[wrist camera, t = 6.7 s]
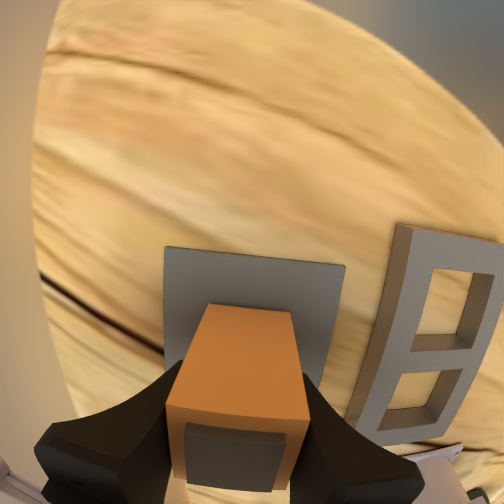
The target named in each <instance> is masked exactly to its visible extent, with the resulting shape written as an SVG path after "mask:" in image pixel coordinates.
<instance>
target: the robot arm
mask: <svg viewBox="0 0 504 504" xmlns="http://www.w3.org/2000/svg"><path fill="white" fill-rule="evenodd" d="M183 361H184V360H179V361H177V362H176V363H175V364H174V365H173V366H172V367H171V368H170V369H169V370H168V371H166V372H165V373H164V374H163V375H162V376H161V377H159V378H158V379H157V380H156V381H154V382H153V383H152V384H151V385H149V386H148V387H147V388H145V389H144V390H142V391H141V392H139V393H138V394H136V395H135V396H133V397H132V398H130V399H128V400H127V401H125V402H123V403H121V404H119V405H117V406H114V407H112V408H110V409H107V410H105V411H102V412H100V413H97V414H94V415H91V416H87V417H83V418H80V419H75V420H70V421H64V422H58V423H52V425H51V426H50V427H49V428H48V429H47V430H46V432H45V433H44V434H43V436H42V437H41V438H40V440H39V441H38V442H37V444H36V445H35V447H34V453H35V456H36V458H37V460H38V462H39V463H40V465H41V467H42V468H43V470H44V472H45V473H46V475H47V476H48V478H49V480H48V481H47V483H46V485H45V486H44V488H43V489H42V488H40V487H39V486H37V485H35V484H33V483H32V482H30V481H28V480H26V479H25V478H23V477H21V476H20V475H18V474H16V473H15V472H13V471H12V470H10V467H9V466H8V464H7V463H6V461H5V460H4V459H3V458H2V457H1V456H0V504H164V500H165V495H166V491H167V486H168V481H169V477H170V473H171V469H172V461H171V454H170V445H169V436H168V426H167V416H166V401H167V399H168V397H169V394H170V392H171V389H172V387H173V385H174V382H175V380H176V378H177V375H178V373H179V371H180V368H181V366H182V364H183ZM302 376H303V382H304V387H305V393H306V398H307V404H308V409H309V415H310V422H309V426H308V429H307V432H306V435H305V438H304V441H303V444H302V446H301V449H300V452H299V455H298V458H297V461H296V463H295V466H294V469H293V471H292V474H291V477H290V504H487V503H486V501H485V499H484V498H483V496H480V497H478V498H476V499H473V500H471V501H470V499H469V497H468V495H467V493H466V492H465V490H464V488H463V486H462V484H461V482H460V480H459V478H458V476H457V475H456V473H455V471H454V469H453V467H452V465H451V464H452V463H453V461H454V460H455V459H456V457H457V456H458V455H459V453H460V452H461V450H462V449H463V447H464V446H463V444H458V445H454V446H450V447H446V448H442V449H438V450H434V451H429V452H425V453H420V454H415V455H409V456H404V457H401V456H398V455H396V454H394V453H392V452H390V451H388V450H386V449H384V448H382V447H380V446H378V445H377V444H375V443H373V442H372V441H370V440H369V439H367V438H366V437H364V436H363V435H361V434H360V433H359V432H357V431H356V430H355V429H354V428H353V427H351V426H350V425H349V424H348V423H347V422H346V421H345V420H343V419H342V418H341V417H340V416H339V415H338V414H337V412H336V411H335V410H334V409H333V408H332V407H331V406H330V405H329V403H328V402H327V401H326V400H325V399H324V397H323V396H322V395H321V393H320V392H319V391H318V389H317V388H316V387H315V385H314V384H313V382H312V381H311V380H310V378H309V377H308V375H307V374H306V373H302Z"/></svg>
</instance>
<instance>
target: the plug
mask: <svg viewBox="0 0 504 504" xmlns="http://www.w3.org/2000/svg"><path fill="white" fill-rule="evenodd" d="M166 416H167V426H168V436H169V445H170V454H171V461H172V469H173V476H174V478H178V479H183V480H187V483H189V484H195V485H201V486H207V487H214V488H222V489H230V490H240V491H253V492H272V490H286V487H287V484H288V482H289V479H290V477H291V474H292V471H293V469H294V466H295V463H296V461H297V458H298V455H299V452H300V449H301V446H302V444H303V441H304V438H305V435H306V432H307V429H308V426H309V422H310V415H309V409H308V404H307V398H306V393H305V387H304V382H303V376H302V371H301V366H300V360H299V355H298V350H297V345H296V340H295V335H294V330H293V324H292V319H291V314H290V312H280V311H270V310H260V309H251V308H242V307H233V306H225V305H216V304H208V306H207V308H206V311H205V313H204V315H203V317H202V320H201V322H200V324H199V327H198V329H197V331H196V333H195V336H194V338H193V340H192V343H191V345H190V347H189V350H188V352H187V354H186V357H185V359H184V361H183V364H182V366H181V368H180V371H179V373H178V375H177V378H176V380H175V382H174V385H173V387H172V389H171V392H170V394H169V397H168V399H167V401H166Z"/></svg>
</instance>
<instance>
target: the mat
mask: <svg viewBox="0 0 504 504" xmlns="http://www.w3.org/2000/svg"><path fill="white" fill-rule="evenodd" d="M345 268H346V267H345V266H344V265H337V264H327V263H318V262H308V261H299V260H289V259H280V258H271V257H261V256H252V255H242V254H233V253H224V252H215V251H205V250H196V249H187V248H178V247H168V246H166V247H164V285H163V316H164V355H165V372H166V371H168V370H169V369H170V368H171V367H172V366H173V365H174V364H175V363H176V362H177V361H179V360H184V359H185V357H186V354H187V352H188V350H189V347H190V345H191V343H192V340H193V338H194V336H195V333H196V331H197V329H198V327H199V324H200V322H201V320H202V317H203V315H204V313H205V311H206V308H207V306H208V304H216V305H225V306H233V307H242V308H251V309H260V310H270V311H280V312H290V314H291V319H292V324H293V330H294V335H295V340H296V345H297V350H298V355H299V360H300V366H301V371H302V373H306V374H307V375H308V377H309V378H310V380H311V381H312V382H313V384H314V385H315V387H316V388H317V389H318V387H319V383H320V379H321V376H322V372H323V368H324V364H325V360H326V356H327V352H328V348H329V344H330V340H331V336H332V331H333V327H334V323H335V318H336V313H337V309H338V304H339V299H340V294H341V289H342V284H343V279H344V273H345Z"/></svg>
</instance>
